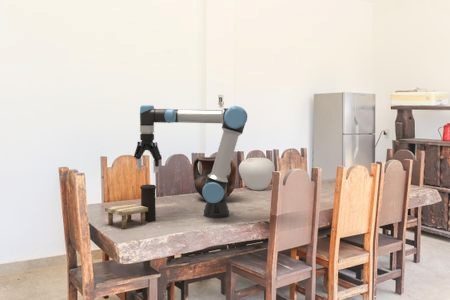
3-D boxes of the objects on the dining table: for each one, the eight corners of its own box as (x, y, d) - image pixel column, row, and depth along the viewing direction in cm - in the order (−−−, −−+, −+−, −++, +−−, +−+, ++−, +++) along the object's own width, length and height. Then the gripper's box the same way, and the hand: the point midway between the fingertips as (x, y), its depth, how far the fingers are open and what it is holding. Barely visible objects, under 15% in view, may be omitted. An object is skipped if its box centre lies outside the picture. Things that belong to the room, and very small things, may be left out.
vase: (257, 185, 367) (257, 156, 365) (281, 189, 347) (281, 158, 345) (232, 188, 349) (232, 158, 347) (255, 193, 329) (256, 160, 327)
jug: (241, 197, 312) (241, 155, 309) (232, 205, 284) (232, 159, 282) (198, 195, 319) (198, 154, 317) (185, 202, 292) (185, 158, 290)
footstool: (148, 223, 235) (148, 207, 234) (123, 229, 223) (123, 212, 222) (129, 219, 245) (129, 203, 244) (105, 224, 233) (105, 207, 232)
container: (157, 218, 247) (157, 183, 245) (155, 222, 238) (155, 186, 237) (141, 218, 247) (141, 183, 245) (139, 222, 238) (138, 186, 236)
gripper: (167, 133, 238) (168, 172, 239) (137, 132, 253) (138, 169, 255) (157, 134, 232) (157, 174, 233) (127, 132, 247) (127, 170, 249)
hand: (147, 171), depth 244 cm, fingers open, 13 cm apart
